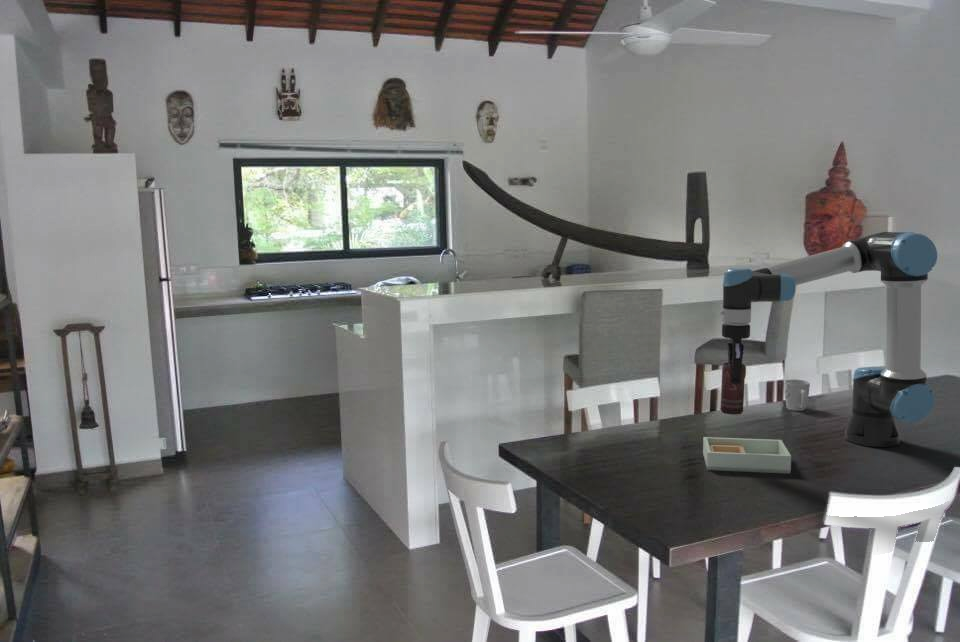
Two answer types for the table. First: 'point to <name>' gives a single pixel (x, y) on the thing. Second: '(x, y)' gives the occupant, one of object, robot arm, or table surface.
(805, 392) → the mug
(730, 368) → the can
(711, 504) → the table surface
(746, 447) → the walled box
